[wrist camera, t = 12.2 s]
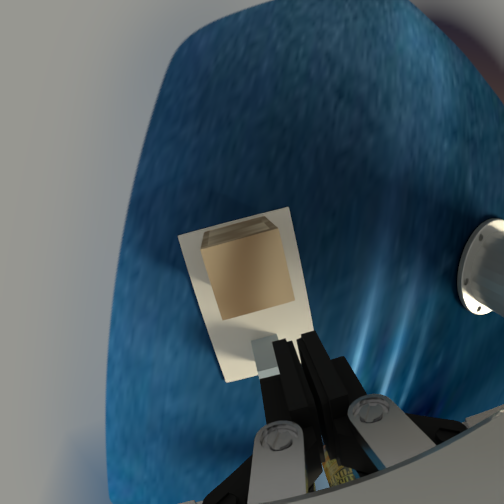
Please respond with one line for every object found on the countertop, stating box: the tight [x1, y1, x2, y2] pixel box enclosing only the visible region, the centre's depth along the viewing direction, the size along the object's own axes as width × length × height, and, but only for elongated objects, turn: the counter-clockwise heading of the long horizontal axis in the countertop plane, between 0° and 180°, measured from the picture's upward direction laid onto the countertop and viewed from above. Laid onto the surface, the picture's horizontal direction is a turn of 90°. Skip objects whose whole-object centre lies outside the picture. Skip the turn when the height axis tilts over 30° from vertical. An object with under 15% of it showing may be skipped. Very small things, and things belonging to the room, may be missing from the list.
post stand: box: [178, 207, 314, 383], centre depth 27 cm, size 10×16×6 cm, turn 14°
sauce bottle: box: [322, 445, 356, 487], centre depth 27 cm, size 6×6×20 cm
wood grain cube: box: [200, 216, 295, 321], centre depth 25 cm, size 5×5×7 cm
